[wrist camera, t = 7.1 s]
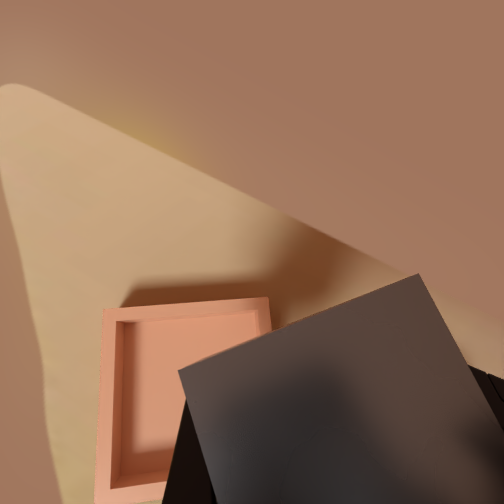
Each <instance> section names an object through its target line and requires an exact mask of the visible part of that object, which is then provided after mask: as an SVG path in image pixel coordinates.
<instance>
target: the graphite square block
mask: <svg viewBox="0 0 504 504" xmlns="http://www.w3.org/2000/svg"><path fill="white" fill-rule="evenodd" d="M178 374H179V377H180V380H181V383H182V387H183V390H184V393H185V397H186V400H187V403H188V406H189V410H190V413H191V416H192V420H193V423H194V426H195V430H196V433H197V436H198V439H199V443H200V446H201V449H202V453H203V456H204V459H205V462H206V466H207V469H208V472H209V476H210V479H211V482H212V486H213V489H214V492H215V495H216V499H217V502H218V504H504V432H503V430H502V428H501V426H500V424H499V422H498V421H497V419H496V417H495V415H494V413H493V411H492V409H491V408H490V406H489V404H488V402H487V400H486V398H485V396H484V395H483V393H482V391H481V389H480V387H479V385H478V383H477V381H476V380H475V378H474V376H473V374H472V372H471V370H470V368H469V367H468V365H467V363H466V361H465V359H464V357H463V355H462V353H461V352H460V350H459V348H458V346H457V344H456V342H455V340H454V339H453V337H452V335H451V333H450V331H449V329H448V327H447V326H446V324H445V322H444V320H443V318H442V316H441V314H440V312H439V311H438V309H437V307H436V305H435V303H434V301H433V299H432V298H431V296H430V294H429V292H428V290H427V288H426V286H425V284H424V283H423V281H422V279H421V277H420V275H419V274H416V275H413V276H411V277H408V278H406V279H403V280H400V281H398V282H395V283H393V284H390V285H388V286H385V287H382V288H380V289H377V290H375V291H372V292H370V293H367V294H364V295H362V296H359V297H357V298H354V299H352V300H349V301H346V302H344V303H341V304H339V305H336V306H334V307H331V308H328V309H326V310H323V311H321V312H318V313H316V314H313V315H310V316H308V317H305V318H303V319H300V320H298V321H295V322H292V323H290V324H287V325H285V326H282V327H280V328H277V329H275V330H272V331H270V332H267V333H265V334H262V335H260V336H257V337H255V338H252V339H250V340H247V341H245V342H242V343H240V344H237V345H235V346H232V347H230V348H228V349H225V350H223V351H220V352H218V353H215V354H213V355H210V356H208V357H205V358H203V359H201V360H199V361H197V362H194V363H192V364H190V365H188V366H186V367H184V368H182V369H180V370H178Z"/></svg>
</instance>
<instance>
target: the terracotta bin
mask: <svg viewBox="0 0 504 504" xmlns="http://www.w3.org/2000/svg"><path fill="white" fill-rule="evenodd" d="M270 331H272V326H271V317H270V307H269V298H268V297H257V298H244V299H231V300H217V301H204V302H191V303H178V304H164V305H151V306H138V307H125V308H111V309H103V323H102V344H101V366H100V387H99V408H98V429H97V450H96V472H95V493H94V504H132V503H139V502H145V501H152V500H158V499H163V496H164V491H165V487H166V483H167V478H168V474H169V469H170V465H171V461H172V456H173V452H174V447H175V443H176V439H177V434H178V430H179V426H180V421H181V417H182V412H183V408H184V404H185V399H186V397H185V393H184V390H183V387H182V383H181V380H180V377H179V374H178V370H180V369H182V368H184V367H186V366H188V365H190V364H192V363H194V362H197V361H199V360H201V359H203V358H205V357H208V356H210V355H213V354H215V353H218V352H220V351H223V350H225V349H228V348H230V347H232V346H235V345H237V344H240V343H242V342H245V341H247V340H250V339H252V338H255V337H257V336H260V335H262V334H265V333H267V332H270Z"/></svg>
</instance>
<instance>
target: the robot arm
mask: <svg viewBox="0 0 504 504" xmlns="http://www.w3.org/2000/svg"><path fill="white" fill-rule="evenodd" d="M468 367H469V368H470V370H471V372H472V374H473V376H474V378H475V380H476V381H477V383H478V385H479V387H480V389H481V391H482V393H483V395H484V396H485V398H486V400H487V402H488V404H489V406H490V408H491V409H492V411H493V413H494V415H495V417H496V419H497V421H498V422H499V424H500V426H501V428H502V430H503V432H504V379H501V378H499V377H496V376H494V375H492V374H486V372H484V371H482V370H479V369H477V368H474V367H472V366H470V365H468ZM162 504H218V502H217V499H216V495H215V492H214V489H213V486H212V482H211V479H210V476H209V472H208V469H207V466H206V462H205V459H204V456H203V453H202V449H201V446H200V443H199V439H198V436H197V433H196V430H195V426H194V423H193V420H192V416H191V413H190V410H189V406H188V403H187V400H186V399H185V404H184V408H183V412H182V417H181V421H180V426H179V430H178V434H177V439H176V443H175V447H174V452H173V456H172V461H171V465H170V469H169V474H168V478H167V483H166V487H165V491H164V496H163V500H162Z"/></svg>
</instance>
